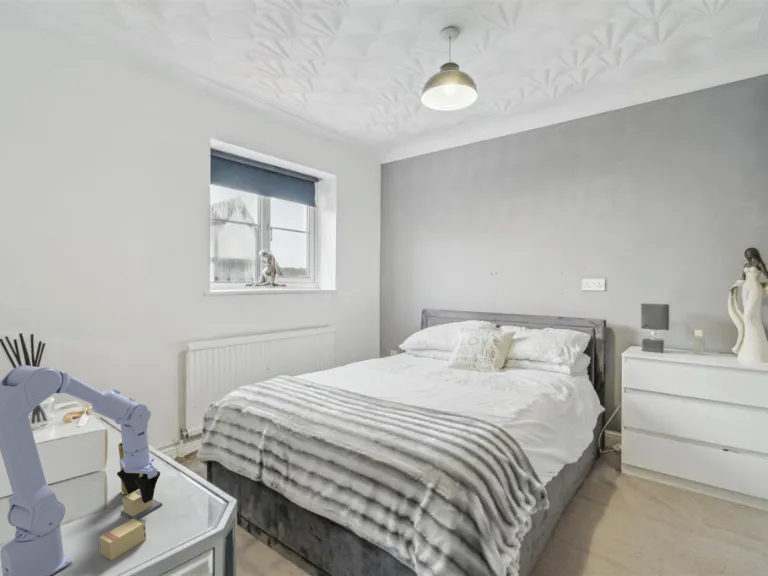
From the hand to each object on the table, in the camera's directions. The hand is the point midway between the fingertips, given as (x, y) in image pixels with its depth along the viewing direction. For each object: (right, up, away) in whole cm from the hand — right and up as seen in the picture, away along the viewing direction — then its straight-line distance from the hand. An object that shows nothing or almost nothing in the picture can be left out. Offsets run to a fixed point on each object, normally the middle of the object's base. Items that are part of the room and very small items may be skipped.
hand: (140, 497), depth 104 cm
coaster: (0, -3, 0) cm, 3 cm away
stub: (0, -3, -1) cm, 3 cm away
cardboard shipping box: (+5, -4, -14) cm, 16 cm away
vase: (-9, -3, +11) cm, 14 cm away
